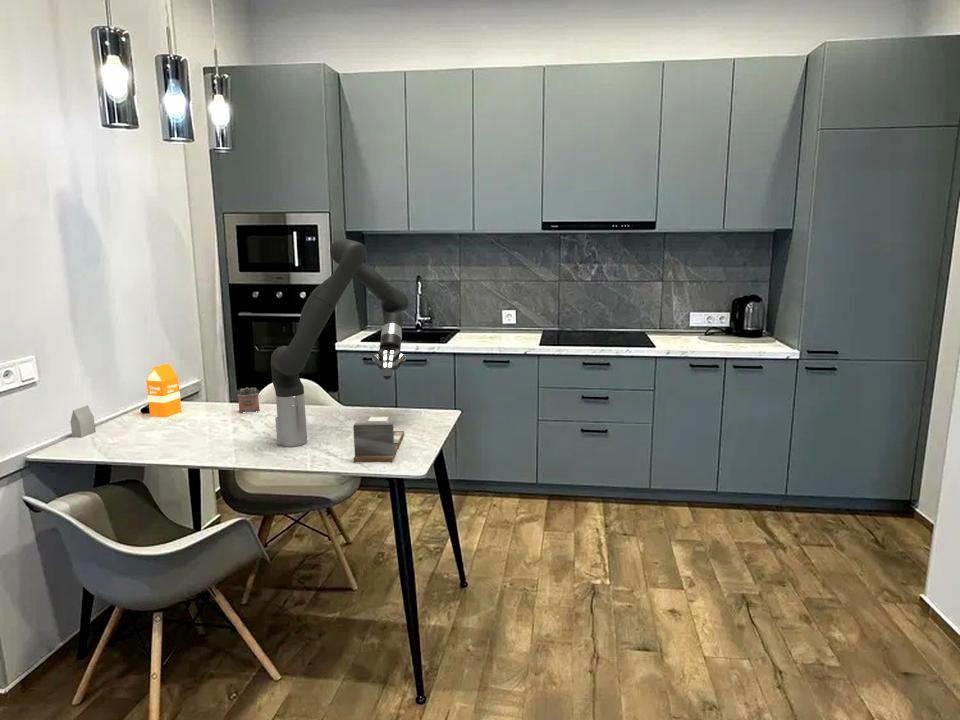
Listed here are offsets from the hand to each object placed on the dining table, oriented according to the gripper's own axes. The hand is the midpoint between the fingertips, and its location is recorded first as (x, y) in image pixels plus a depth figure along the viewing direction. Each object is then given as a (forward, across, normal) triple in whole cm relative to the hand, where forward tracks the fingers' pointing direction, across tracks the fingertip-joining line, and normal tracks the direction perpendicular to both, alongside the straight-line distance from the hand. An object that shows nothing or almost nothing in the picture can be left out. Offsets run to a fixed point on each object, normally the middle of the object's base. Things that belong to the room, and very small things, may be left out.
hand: (386, 378), depth 230 cm
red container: (-6, -61, +34) cm, 70 cm away
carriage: (+27, +2, -2) cm, 27 cm away
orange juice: (-4, -94, +32) cm, 100 cm away
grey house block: (+15, -111, +13) cm, 112 cm away
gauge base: (+26, 0, +1) cm, 27 cm away
